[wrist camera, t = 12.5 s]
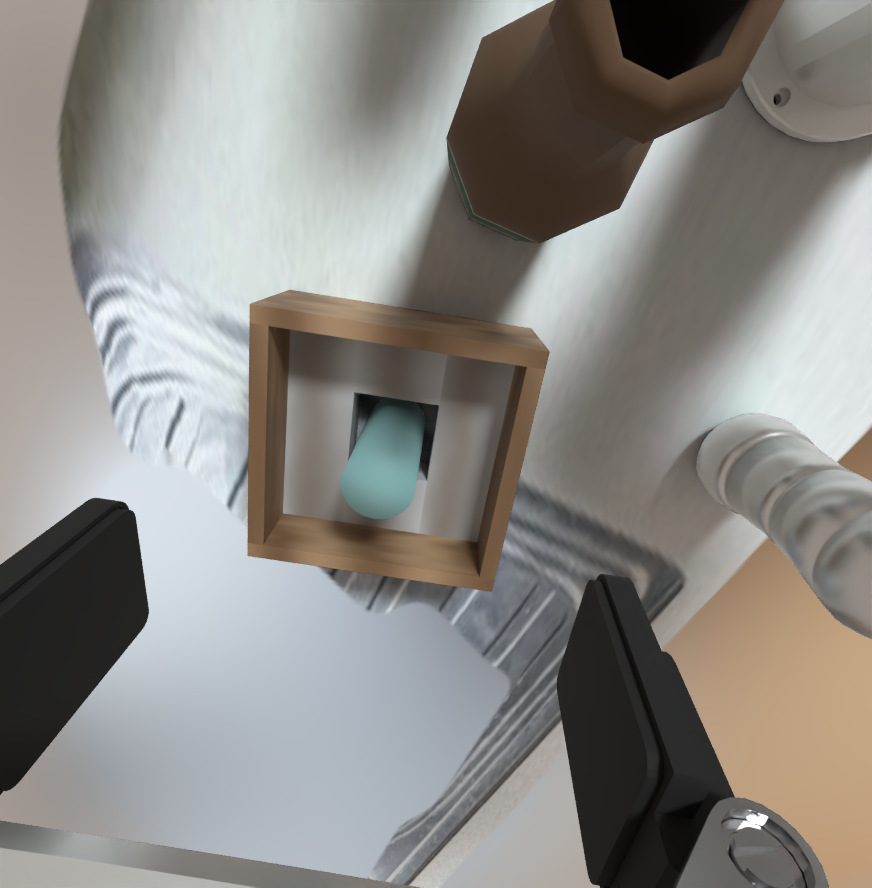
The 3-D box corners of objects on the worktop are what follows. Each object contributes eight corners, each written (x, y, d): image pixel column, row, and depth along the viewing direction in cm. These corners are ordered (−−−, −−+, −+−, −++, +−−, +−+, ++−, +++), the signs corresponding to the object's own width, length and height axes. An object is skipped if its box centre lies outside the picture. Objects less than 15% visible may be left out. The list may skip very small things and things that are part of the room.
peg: (429, 400, 36) (420, 458, 26) (421, 451, 37) (409, 524, 28) (372, 391, 36) (343, 446, 26) (366, 443, 37) (337, 513, 28)
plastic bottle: (666, 463, 37) (877, 695, 18) (731, 386, 35) (1048, 562, 16) (734, 504, 38) (998, 761, 20) (802, 431, 36) (1176, 646, 17)
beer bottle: (449, 239, 32) (436, 259, 10) (449, 91, 29) (430, -386, 7) (575, 238, 31) (863, 256, 9) (589, 88, 28) (1065, -419, 6)
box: (531, 328, 34) (549, 351, 27) (485, 533, 40) (491, 591, 33) (290, 289, 33) (249, 303, 27) (281, 502, 39) (247, 555, 33)
